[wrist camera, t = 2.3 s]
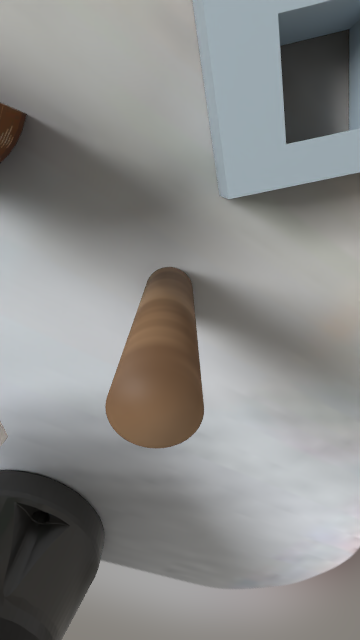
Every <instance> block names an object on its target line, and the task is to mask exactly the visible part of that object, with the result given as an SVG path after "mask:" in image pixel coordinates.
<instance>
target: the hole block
mask: <svg viewBox="0 0 360 640" xmlns="http://www.w3.org/2000/svg"><path fill="white" fill-rule="evenodd" d="M192 2H193V9H194V16H195V23H196V30H197V37H198V45H199V52H200V59H201V66H202V73H203V80H204V88H205V95H206V102H207V109H208V116H209V123H210V131H211V138H212V145H213V152H214V159H215V166H216V174H217V181H218V188H219V195H220V196H222V197H224V198H227V199H233V198H237V197H242V196H247V195H252V194H257V193H262V192H266V191H271V190H276V189H281V188H286V187H291V186H296V185H300V184H305V183H310V182H315V181H320V180H325V179H330V178H334V177H339V176H344V175H349V174H354V173H359V172H360V0H192ZM348 29H349V131H345V132H340V133H336V134H331V135H326V136H322V137H317V138H313V139H308V140H303V141H299V142H294V143H290V144H286V134H285V118H284V102H283V86H282V70H281V53H280V46H282V45H286V44H290V43H294V42H298V41H302V40H306V39H311V38H315V37H319V36H323V35H327V34H331V33H335V32H340V31H344V30H348Z"/></svg>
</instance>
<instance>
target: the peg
mask: <svg viewBox="0 0 360 640" xmlns="http://www.w3.org/2000/svg"><path fill="white" fill-rule="evenodd" d="M106 414H107V418H108V420H109V423H110V424H111V426H112V428H113V429H114V430H115V431H116V432H117V433H118V434H119V435H120V436H121V437H123V438H124V439H125V440H127V441H129V442H131V443H133V444H135V445H139V446H142V447H147V448H166V447H171V446H174V445H177V444H179V443H182V442H183V441H185V440H187V439H188V438H189V437H191V436H192V435H193V434H194V433H195V432H196V430H197V429H198V428H199V426H200V424H201V422H202V419H203V415H204V404H203V394H202V383H201V372H200V362H199V351H198V341H197V330H196V319H195V309H194V298H193V288H192V283H191V280H190V279H189V277H188V276H187V275H186V274H185V273H184V272H183V271H181V270H179V269H177V268H173V267H165V268H161V269H158V270H157V271H155V272H154V273H153V274H152V275H151V276H150V277H149V279H148V281H147V284H146V287H145V290H144V293H143V295H142V298H141V301H140V304H139V307H138V310H137V313H136V316H135V318H134V321H133V324H132V327H131V330H130V333H129V336H128V338H127V341H126V344H125V347H124V350H123V353H122V356H121V359H120V361H119V364H118V367H117V370H116V373H115V376H114V379H113V382H112V384H111V387H110V390H109V393H108V396H107V400H106Z"/></svg>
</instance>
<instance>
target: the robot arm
mask: <svg viewBox="0 0 360 640" xmlns="http://www.w3.org/2000/svg"><path fill="white" fill-rule="evenodd" d="M7 437H8V435H7V433H6V431H5V429H4V427H3V425H2V424H1V422H0V447H1V446H2V444H3V443H4V441H5V440H6V439H7ZM103 544H104V529H103V526H102V523H101V520H100V518H99V516H98V515H97V513H96V512H95V510H94V509H93V508H92V507H91V505H90V504H89V503H88V502H87V501H86V500H85V499H83V498H82V497H81V496H80V495H78V494H77V493H76V492H74V491H73V490H71V489H70V488H68V487H66V486H64V485H62V484H60V483H58V482H56V481H54V480H51V479H48V478H45V477H42V476H39V475H35V474H31V473H25V472H18V471H0V640H62V638H63V636H64V634H65V632H66V631H67V629H68V627H69V625H70V623H71V621H72V619H73V617H74V615H75V614H76V612H77V610H78V608H79V606H80V604H81V602H82V600H83V598H84V596H85V594H86V592H87V590H88V588H89V586H90V585H91V583H92V581H93V579H94V578H95V575H96V573H97V570H98V567H99V563H100V558H101V554H102V549H103Z"/></svg>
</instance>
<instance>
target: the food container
mask: <svg viewBox="0 0 360 640" xmlns="http://www.w3.org/2000/svg"><path fill="white" fill-rule="evenodd" d="M26 115H27V114H26V113H23V112H21V111H19V110H17V109H14V108H12V107H10V106H8V105H6V104H3V103H1V102H0V163H1V162H2V161H3V160H4V159H5V158H6V157H7V156H8V155H9V154H10V152H11V151H12V149H13V148H14V146H15V145H16V143H17V141H18V139H19V137H20V134H21V132H22V130H23V126H24V122H25V119H26Z"/></svg>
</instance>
